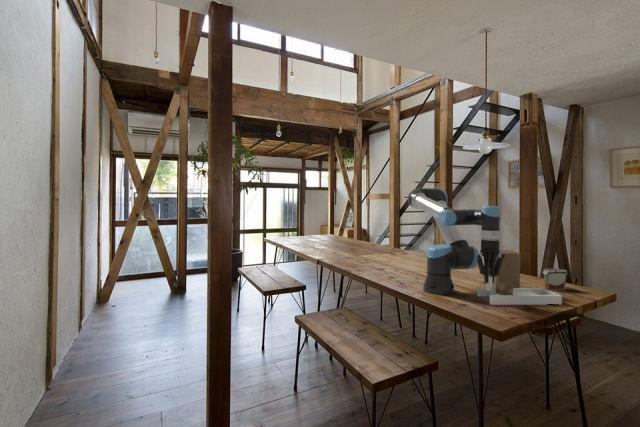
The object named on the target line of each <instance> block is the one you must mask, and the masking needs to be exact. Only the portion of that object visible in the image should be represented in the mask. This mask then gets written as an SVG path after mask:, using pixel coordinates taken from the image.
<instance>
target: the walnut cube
mask: <svg viewBox="0 0 640 427" xmlns="http://www.w3.org/2000/svg"><path fill="white" fill-rule="evenodd" d="M496 293H498V294H500V295H513V285H512V284H510V283H508V282H496Z"/></svg>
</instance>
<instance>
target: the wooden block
mask: <svg viewBox="0 0 640 427" xmlns="http://www.w3.org/2000/svg"><path fill="white" fill-rule="evenodd" d="M499 251H500V253H501V254H503V255H505V257H504V258H503V260H502V263H501V267H500V271H499V274H498V275H495V277H494V283H492V288H496V282H508V283H510V284H512V285H513V288H521V287H520V285H521V284H520V283H521V261H522V260H521V253H520V252H518V251H516V250H512V249H504V250H503V249H499ZM497 257H498V256H497ZM497 257H496V260H497ZM495 264H496V262H495Z"/></svg>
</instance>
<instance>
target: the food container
mask: <svg viewBox="0 0 640 427" xmlns="http://www.w3.org/2000/svg"><path fill="white" fill-rule="evenodd" d="M542 274H543V275H544V285H545V286H544V287H545V288H544V289H546V290H549V291H557V290H559V291H561V290H565V288H566V281H567V280H566V278H567V275H568V272H567V270H566V269H561V268H544V269H543V271H542Z"/></svg>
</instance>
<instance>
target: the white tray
mask: <svg viewBox="0 0 640 427" xmlns="http://www.w3.org/2000/svg"><path fill="white" fill-rule="evenodd" d="M476 290H477V291H476V292H477V294H476V296H477V298H479V299H481V300H483V301H484V302H485V303H488V304H489V305H490V306H491V305H493V306H497V305H498V306H499V305H502V306H505V305H506V306H509V305H510V306H511V305H513V306H514V305H517V306H519V305H522V306H525V305H528V306H529V305H533V306H534V305H542V306H544V305H547V304H559V305H562V303H563V296H562V295H561V294H559V293H556V292H553V291H552V290H547V289H545V288H543V287H540V288H539V287H537V288H536V287H529V288H527V287H524V288H522V287H520V288H513V295H500V294H498V293H496V288H494V287H492V291H488V290H486V287H480V288H479V287H478V288H477V289H476Z"/></svg>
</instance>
